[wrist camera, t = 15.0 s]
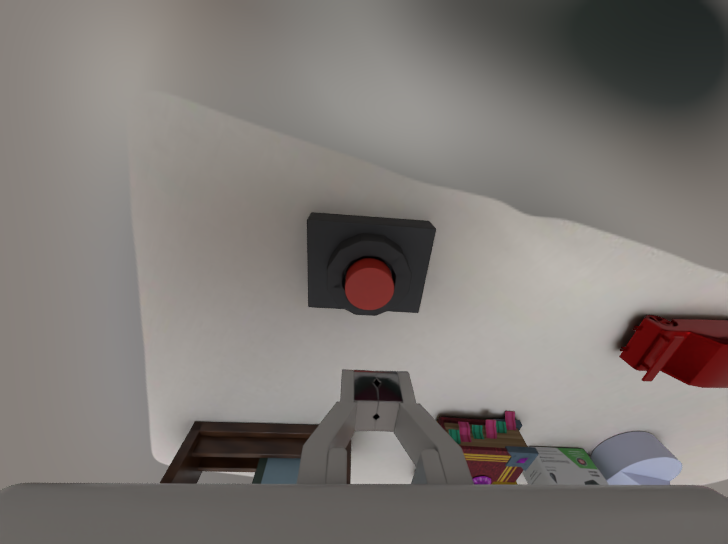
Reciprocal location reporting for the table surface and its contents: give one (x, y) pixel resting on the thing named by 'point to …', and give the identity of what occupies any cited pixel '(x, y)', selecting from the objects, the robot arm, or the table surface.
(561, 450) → the ink box
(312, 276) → the switch block
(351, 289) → the red push button
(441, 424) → the decorative book
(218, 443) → the window frame
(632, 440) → the wedge on round base
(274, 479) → the window pane
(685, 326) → the toy car
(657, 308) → the table surface
